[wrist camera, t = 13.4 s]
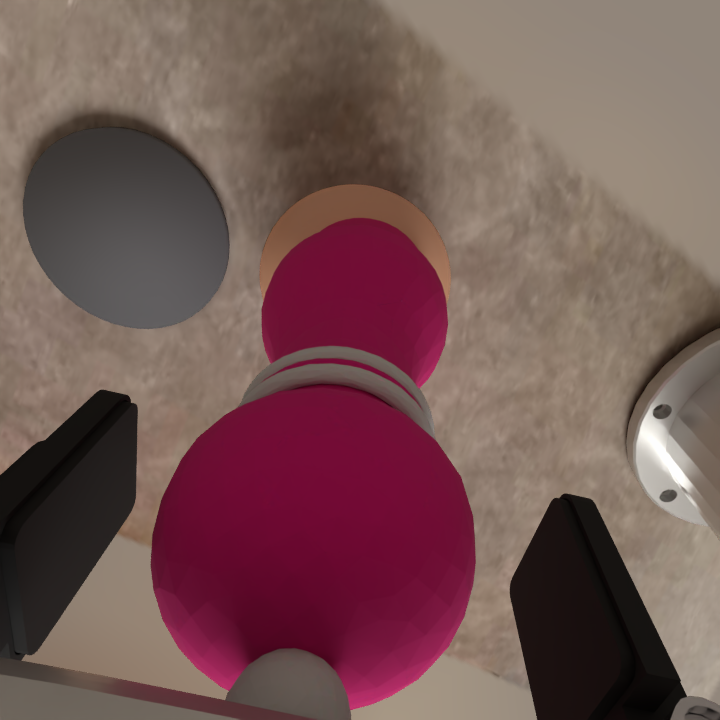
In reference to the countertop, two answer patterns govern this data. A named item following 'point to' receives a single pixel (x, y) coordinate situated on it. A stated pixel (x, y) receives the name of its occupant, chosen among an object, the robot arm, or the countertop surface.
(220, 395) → the countertop surface
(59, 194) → the dark gray oval dome
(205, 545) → the pepper mill
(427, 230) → the peach oval dome
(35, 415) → the countertop surface
